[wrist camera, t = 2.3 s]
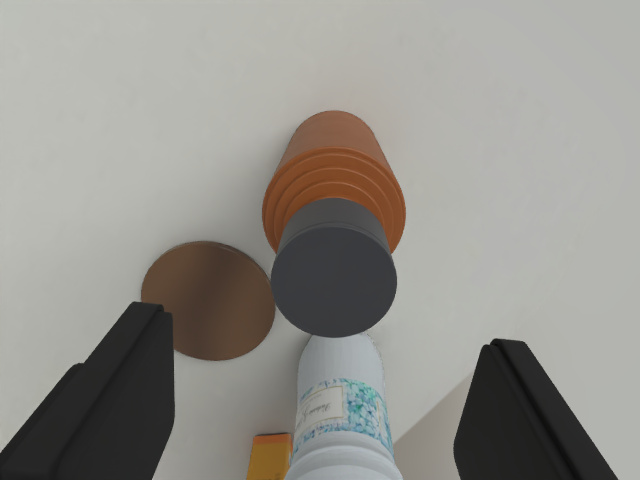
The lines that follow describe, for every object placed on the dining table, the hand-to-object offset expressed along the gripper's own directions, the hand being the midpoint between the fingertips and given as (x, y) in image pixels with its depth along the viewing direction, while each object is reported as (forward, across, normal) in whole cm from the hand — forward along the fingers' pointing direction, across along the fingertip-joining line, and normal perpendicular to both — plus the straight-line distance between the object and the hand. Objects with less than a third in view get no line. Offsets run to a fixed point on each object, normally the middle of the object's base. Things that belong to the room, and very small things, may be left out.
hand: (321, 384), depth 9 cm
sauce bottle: (+22, 0, 0) cm, 22 cm away
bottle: (+23, -3, +15) cm, 27 cm away
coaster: (+22, +8, +12) cm, 26 cm away
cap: (+7, 0, 0) cm, 7 cm away
